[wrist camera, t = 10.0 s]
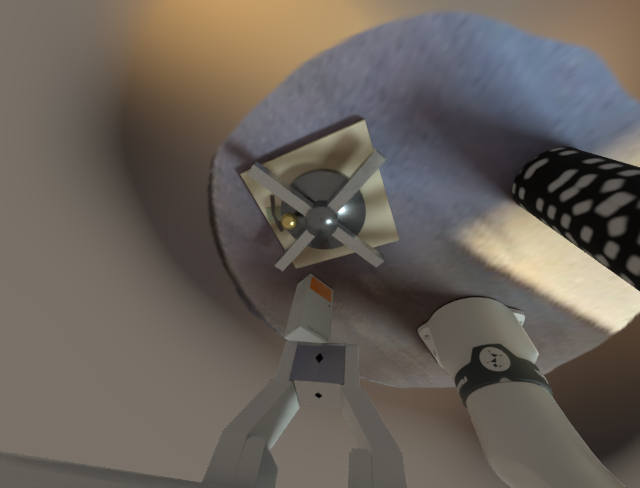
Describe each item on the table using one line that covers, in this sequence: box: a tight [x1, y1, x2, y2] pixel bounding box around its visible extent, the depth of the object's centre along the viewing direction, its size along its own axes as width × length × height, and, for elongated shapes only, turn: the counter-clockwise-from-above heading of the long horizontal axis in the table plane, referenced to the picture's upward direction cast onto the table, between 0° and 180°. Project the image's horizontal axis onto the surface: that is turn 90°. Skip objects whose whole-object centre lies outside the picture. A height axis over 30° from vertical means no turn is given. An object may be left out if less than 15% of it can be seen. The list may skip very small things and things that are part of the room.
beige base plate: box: [240, 119, 399, 269], centre depth 36 cm, size 18×18×1 cm
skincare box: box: [284, 274, 334, 343], centre depth 41 cm, size 6×4×12 cm
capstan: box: [247, 148, 386, 271], centre depth 34 cm, size 17×17×4 cm
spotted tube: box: [512, 147, 640, 291], centre depth 23 cm, size 8×8×20 cm
